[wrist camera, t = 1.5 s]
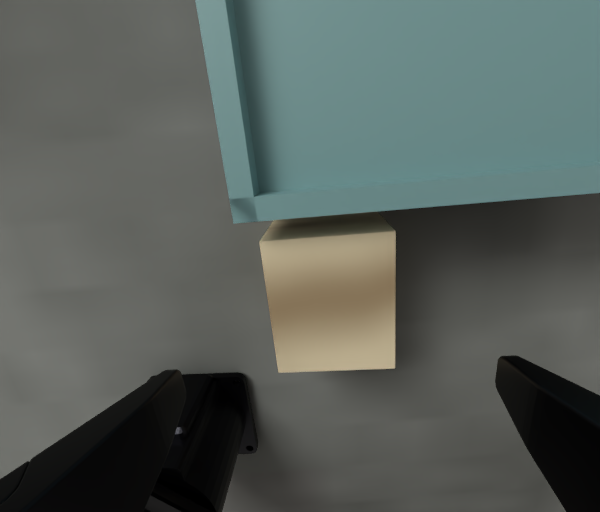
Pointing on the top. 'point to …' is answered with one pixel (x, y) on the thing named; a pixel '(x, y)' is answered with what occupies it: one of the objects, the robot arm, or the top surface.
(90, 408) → the top surface
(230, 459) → the robot arm
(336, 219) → the block
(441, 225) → the top surface
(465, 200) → the teal toy wagon
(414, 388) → the top surface
